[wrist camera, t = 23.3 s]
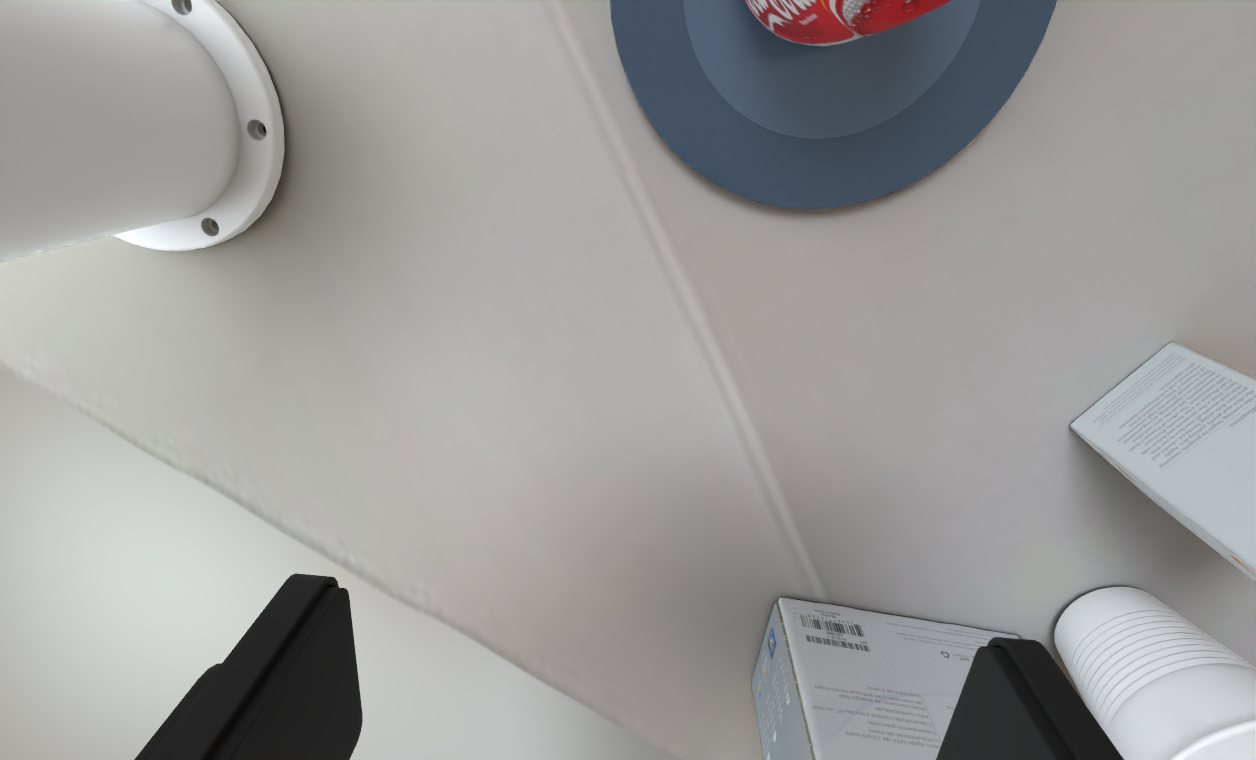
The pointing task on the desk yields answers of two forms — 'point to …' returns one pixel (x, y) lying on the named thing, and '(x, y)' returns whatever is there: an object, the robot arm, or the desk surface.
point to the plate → (822, 94)
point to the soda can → (836, 18)
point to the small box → (1186, 445)
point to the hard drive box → (858, 682)
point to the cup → (1157, 679)
